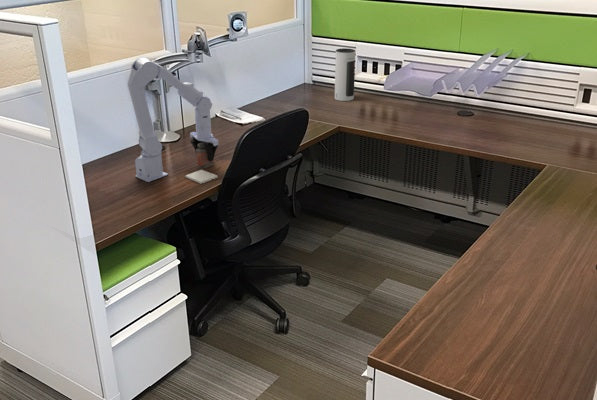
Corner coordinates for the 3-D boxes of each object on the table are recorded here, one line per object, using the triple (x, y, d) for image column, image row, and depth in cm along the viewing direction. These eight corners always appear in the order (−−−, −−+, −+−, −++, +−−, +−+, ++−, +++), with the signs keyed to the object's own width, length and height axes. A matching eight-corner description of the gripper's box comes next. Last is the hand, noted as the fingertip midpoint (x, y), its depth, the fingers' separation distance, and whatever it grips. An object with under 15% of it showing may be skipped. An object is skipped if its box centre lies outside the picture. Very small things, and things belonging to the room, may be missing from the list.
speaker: (340, 102, 326) (342, 52, 315) (330, 97, 334) (331, 48, 323) (357, 99, 331) (359, 50, 320) (346, 94, 339) (348, 46, 328)
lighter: (210, 161, 251) (208, 138, 247) (216, 163, 249) (214, 139, 245) (195, 167, 245) (193, 143, 241) (201, 169, 243) (199, 145, 239)
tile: (201, 183, 231) (201, 181, 230) (185, 177, 236) (185, 175, 236) (217, 177, 236) (217, 175, 236) (201, 171, 242) (201, 169, 241)
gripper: (223, 127, 238) (225, 160, 244) (198, 119, 247) (201, 151, 253) (209, 131, 234) (211, 165, 239) (184, 123, 242) (187, 156, 248)
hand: (205, 158), depth 246 cm, fingers open, 6 cm apart
